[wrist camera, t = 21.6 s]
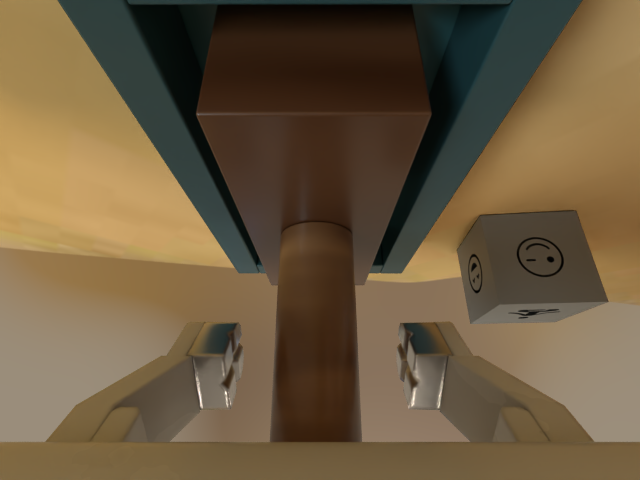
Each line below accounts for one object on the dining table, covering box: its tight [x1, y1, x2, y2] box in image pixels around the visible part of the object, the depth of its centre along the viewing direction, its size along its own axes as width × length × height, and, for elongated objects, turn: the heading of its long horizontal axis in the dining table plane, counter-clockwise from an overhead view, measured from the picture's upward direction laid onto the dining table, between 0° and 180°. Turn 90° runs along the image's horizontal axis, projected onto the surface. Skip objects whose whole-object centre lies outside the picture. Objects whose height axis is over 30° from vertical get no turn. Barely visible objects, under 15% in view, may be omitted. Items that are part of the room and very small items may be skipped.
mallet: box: [196, 5, 432, 442], centre depth 10 cm, size 11×4×12 cm, turn 0°
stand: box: [58, 0, 582, 273], centre depth 12 cm, size 17×11×3 cm, turn 0°
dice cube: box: [457, 211, 608, 324], centre depth 20 cm, size 5×5×5 cm
